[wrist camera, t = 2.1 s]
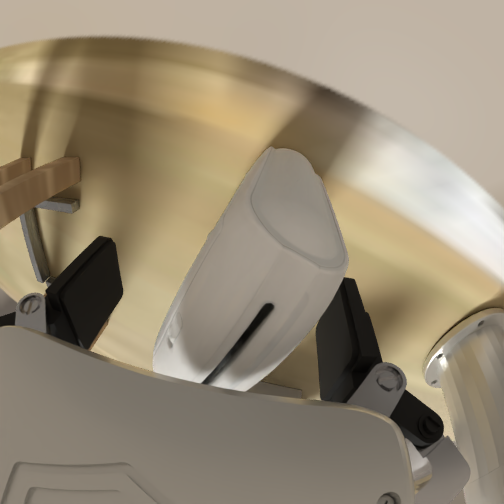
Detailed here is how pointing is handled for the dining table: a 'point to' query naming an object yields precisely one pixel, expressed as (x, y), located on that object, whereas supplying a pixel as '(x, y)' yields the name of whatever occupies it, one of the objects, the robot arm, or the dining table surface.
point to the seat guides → (34, 238)
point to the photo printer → (256, 278)
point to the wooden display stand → (35, 188)
